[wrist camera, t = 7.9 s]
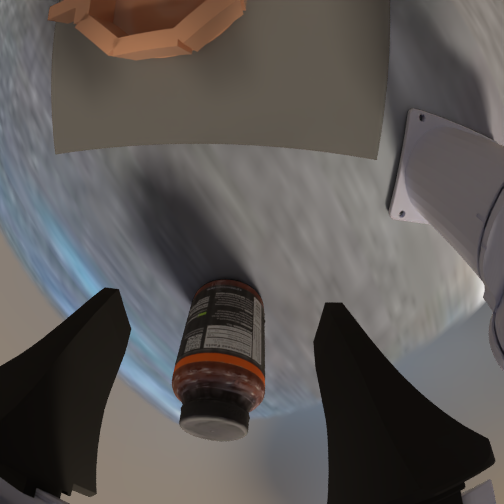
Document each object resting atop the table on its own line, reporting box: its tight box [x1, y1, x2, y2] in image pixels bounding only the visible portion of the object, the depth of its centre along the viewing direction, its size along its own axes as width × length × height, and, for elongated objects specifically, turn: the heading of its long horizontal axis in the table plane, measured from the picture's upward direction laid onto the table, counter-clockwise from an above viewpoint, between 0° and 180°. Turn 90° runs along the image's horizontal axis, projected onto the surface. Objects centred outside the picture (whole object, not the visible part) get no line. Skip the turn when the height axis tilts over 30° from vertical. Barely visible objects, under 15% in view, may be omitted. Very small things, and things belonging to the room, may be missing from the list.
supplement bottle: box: [172, 279, 265, 441], centre depth 18 cm, size 6×6×11 cm
